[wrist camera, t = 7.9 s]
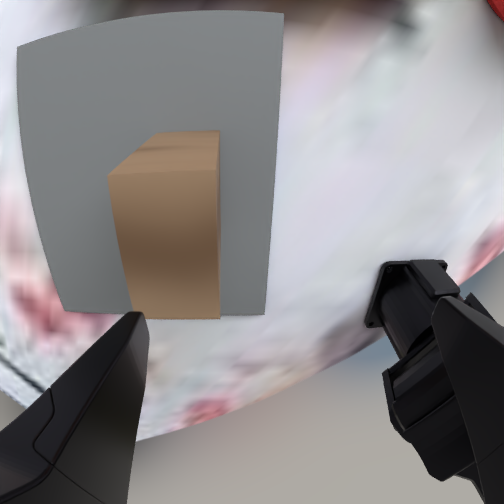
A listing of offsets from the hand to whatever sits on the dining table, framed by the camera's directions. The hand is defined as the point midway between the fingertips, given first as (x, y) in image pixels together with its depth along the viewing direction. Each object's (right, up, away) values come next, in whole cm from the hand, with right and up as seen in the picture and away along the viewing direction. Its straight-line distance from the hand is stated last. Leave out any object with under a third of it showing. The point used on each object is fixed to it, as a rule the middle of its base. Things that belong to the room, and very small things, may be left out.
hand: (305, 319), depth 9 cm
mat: (-8, +6, +9) cm, 14 cm away
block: (-5, +6, +9) cm, 12 cm away
